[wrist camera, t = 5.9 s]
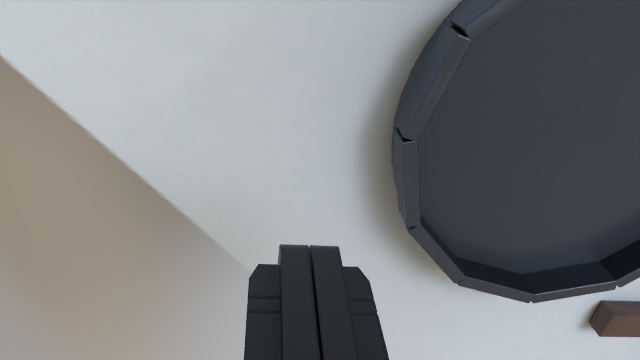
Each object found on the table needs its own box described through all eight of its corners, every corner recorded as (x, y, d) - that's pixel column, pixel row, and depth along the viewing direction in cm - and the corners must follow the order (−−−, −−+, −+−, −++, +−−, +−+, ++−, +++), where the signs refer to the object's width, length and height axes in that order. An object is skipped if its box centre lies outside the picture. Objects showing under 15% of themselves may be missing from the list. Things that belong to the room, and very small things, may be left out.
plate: (334, 223, 25) (340, 256, 22) (529, -166, 16) (568, -175, 14) (595, 295, 29) (621, 327, 27) (848, 20, 21) (915, 34, 19)
